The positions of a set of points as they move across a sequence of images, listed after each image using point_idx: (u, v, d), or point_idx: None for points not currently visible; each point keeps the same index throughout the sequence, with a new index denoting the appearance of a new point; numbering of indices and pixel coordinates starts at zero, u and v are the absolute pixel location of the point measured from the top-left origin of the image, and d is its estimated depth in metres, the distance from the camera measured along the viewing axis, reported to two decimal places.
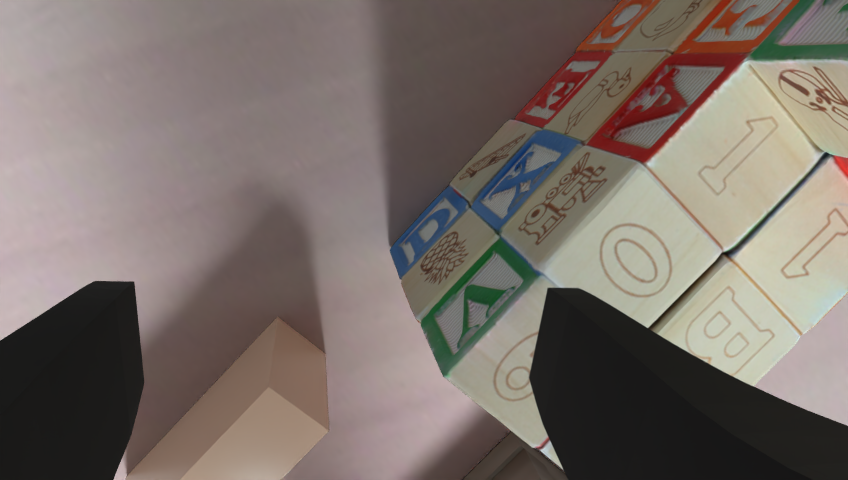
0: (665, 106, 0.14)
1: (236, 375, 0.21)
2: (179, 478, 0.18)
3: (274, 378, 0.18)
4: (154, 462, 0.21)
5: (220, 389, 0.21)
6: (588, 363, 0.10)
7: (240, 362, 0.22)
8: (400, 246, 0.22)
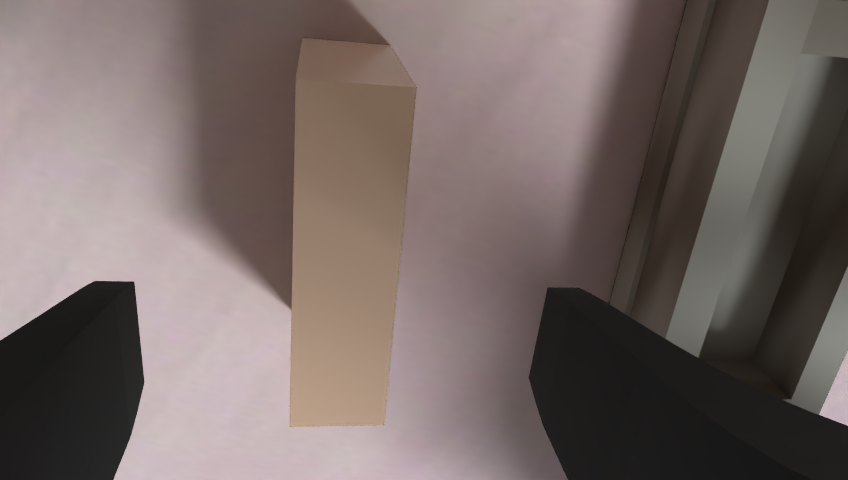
0: None
1: None
2: (292, 261, 0.13)
3: (305, 72, 0.12)
4: None
5: None
6: (587, 362, 0.10)
7: None
8: None
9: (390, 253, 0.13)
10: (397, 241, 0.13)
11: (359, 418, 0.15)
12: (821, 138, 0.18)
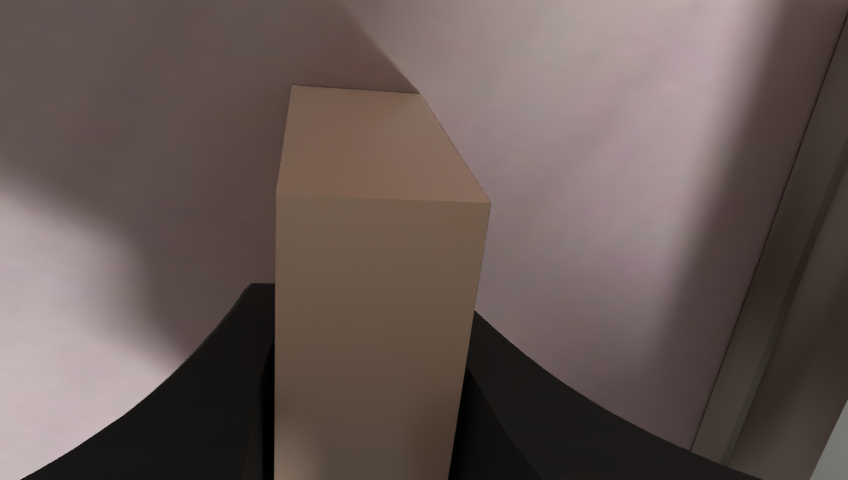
0: None
1: None
2: (274, 471, 0.08)
3: (294, 173, 0.07)
4: None
5: None
6: None
7: None
8: None
9: (435, 454, 0.08)
10: (447, 437, 0.08)
11: None
12: None
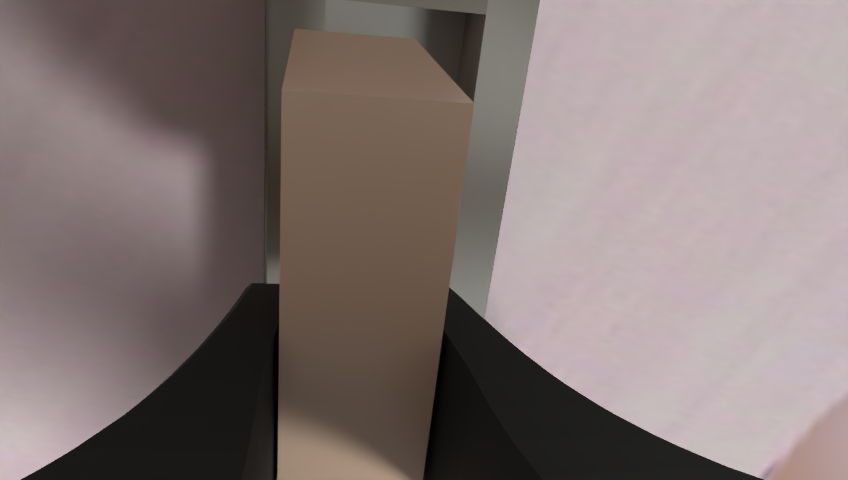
0: None
1: None
2: (279, 362, 0.09)
3: (298, 78, 0.08)
4: None
5: None
6: None
7: None
8: None
9: (425, 349, 0.09)
10: (436, 332, 0.09)
11: None
12: None
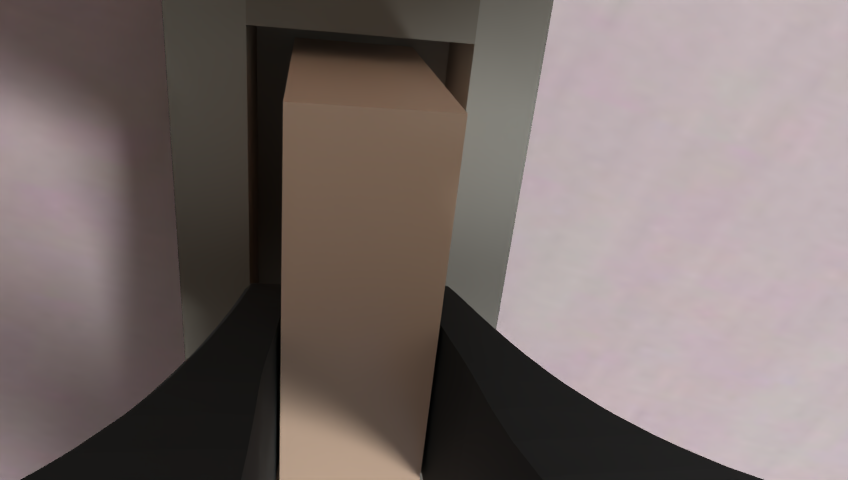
0: None
1: None
2: (281, 362, 0.09)
3: (298, 90, 0.08)
4: None
5: None
6: (435, 364, 0.10)
7: None
8: None
9: (422, 349, 0.09)
10: (432, 332, 0.09)
11: None
12: None
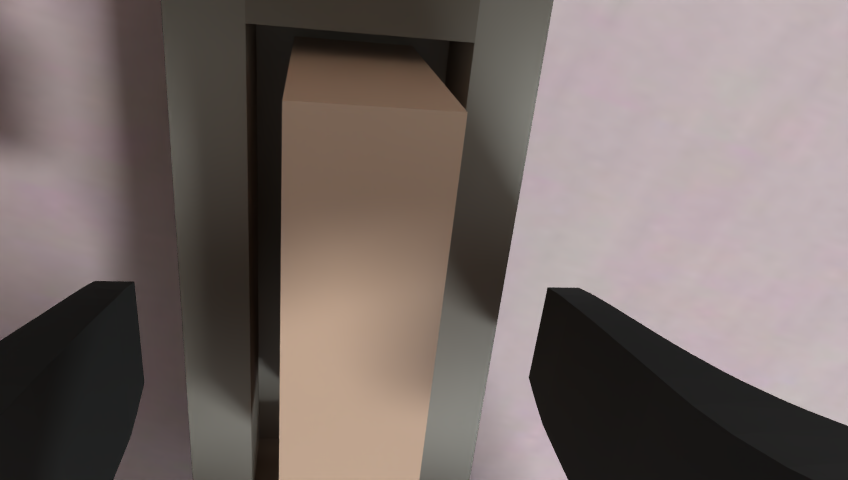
0: None
1: None
2: (280, 362, 0.09)
3: (298, 89, 0.08)
4: None
5: None
6: (588, 362, 0.10)
7: None
8: None
9: (422, 348, 0.09)
10: (432, 332, 0.09)
11: None
12: None
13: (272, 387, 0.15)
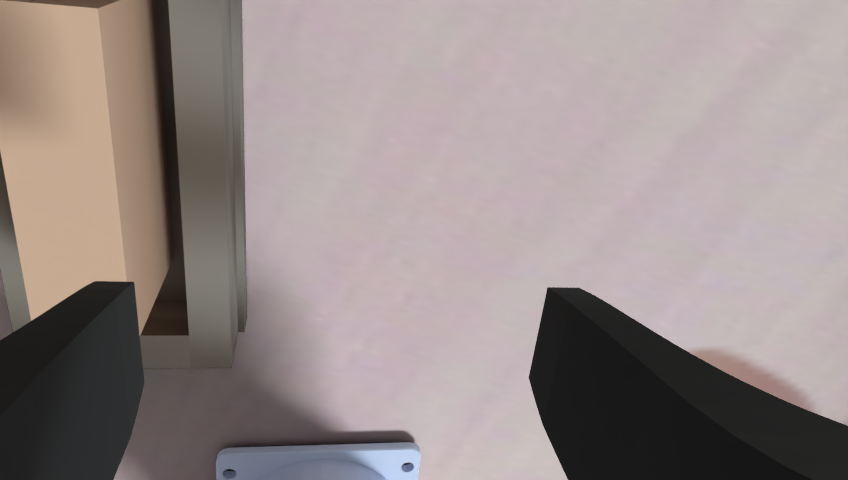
0: None
1: None
2: (8, 182, 0.14)
3: None
4: None
5: None
6: (588, 363, 0.10)
7: None
8: None
9: (104, 175, 0.14)
10: (109, 163, 0.14)
11: None
12: (169, 65, 0.18)
13: None
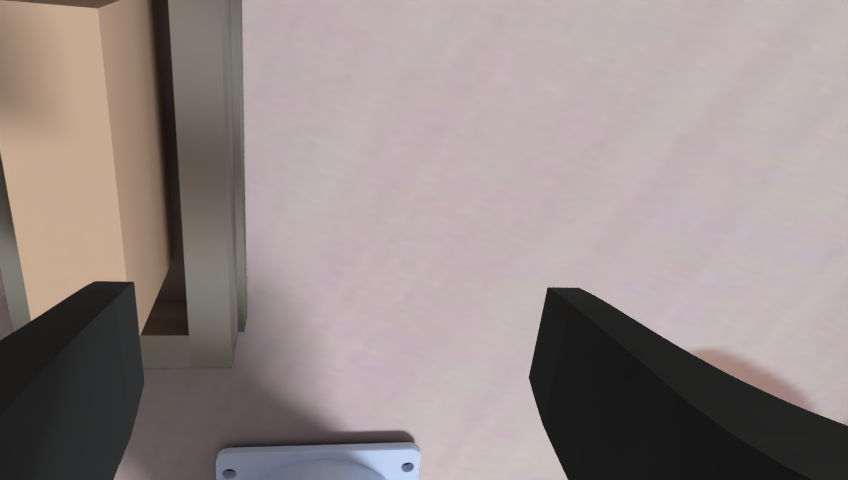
0: None
1: None
2: (8, 182, 0.14)
3: None
4: None
5: None
6: (588, 363, 0.10)
7: None
8: None
9: (104, 175, 0.14)
10: (109, 163, 0.14)
11: None
12: (169, 65, 0.18)
13: None
